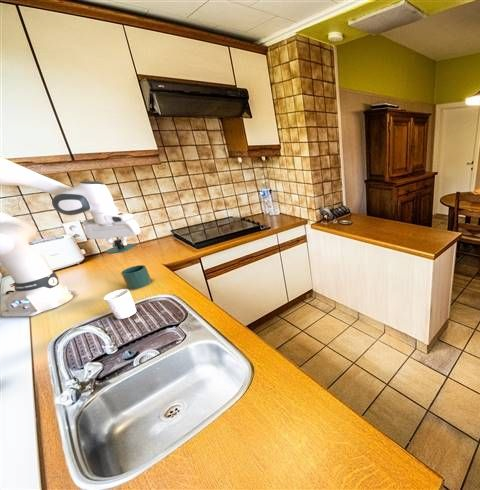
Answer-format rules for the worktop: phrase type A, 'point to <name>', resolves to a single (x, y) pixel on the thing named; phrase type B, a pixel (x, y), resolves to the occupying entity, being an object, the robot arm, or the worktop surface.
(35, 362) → the worktop surface
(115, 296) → the white cup
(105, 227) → the robot arm
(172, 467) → the worktop surface
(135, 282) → the pot
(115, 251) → the lid
